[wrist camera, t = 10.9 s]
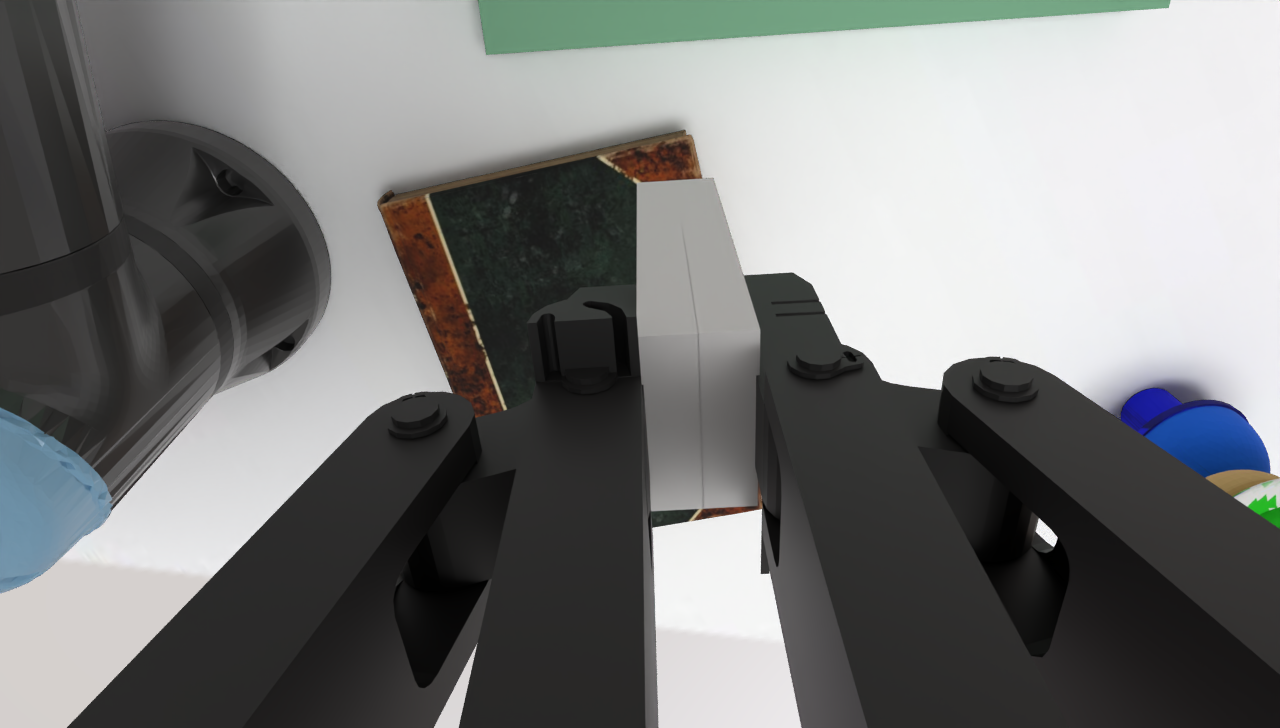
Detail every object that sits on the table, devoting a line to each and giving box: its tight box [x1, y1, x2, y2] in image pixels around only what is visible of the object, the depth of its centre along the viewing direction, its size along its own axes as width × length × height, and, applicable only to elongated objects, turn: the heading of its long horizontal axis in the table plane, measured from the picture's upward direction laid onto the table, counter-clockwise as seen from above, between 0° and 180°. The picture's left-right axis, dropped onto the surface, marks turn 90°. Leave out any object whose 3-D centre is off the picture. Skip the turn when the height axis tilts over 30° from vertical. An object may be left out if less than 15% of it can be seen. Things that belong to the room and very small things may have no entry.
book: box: [377, 130, 762, 528], centre depth 47 cm, size 17×4×25 cm
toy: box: [1121, 388, 1280, 529], centre depth 44 cm, size 9×9×15 cm
